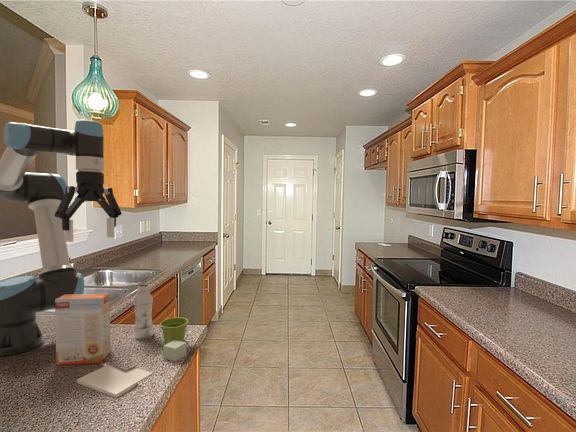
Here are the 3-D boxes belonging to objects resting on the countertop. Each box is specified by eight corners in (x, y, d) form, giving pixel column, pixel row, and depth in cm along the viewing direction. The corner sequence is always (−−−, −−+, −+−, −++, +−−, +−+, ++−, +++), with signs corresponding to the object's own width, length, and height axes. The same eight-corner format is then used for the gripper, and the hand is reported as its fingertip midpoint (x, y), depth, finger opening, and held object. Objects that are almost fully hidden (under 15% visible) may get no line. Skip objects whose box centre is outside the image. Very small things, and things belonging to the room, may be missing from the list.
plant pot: (193, 346, 118) (193, 322, 117) (168, 355, 111) (168, 329, 110) (179, 338, 124) (179, 315, 124) (155, 346, 117) (155, 322, 117)
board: (76, 383, 93) (76, 379, 93) (115, 364, 104) (115, 361, 104) (116, 398, 87) (116, 394, 87) (152, 376, 97) (152, 372, 97)
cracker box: (111, 355, 110) (110, 292, 109) (103, 364, 104) (102, 297, 103) (66, 356, 109) (65, 293, 108) (55, 365, 103) (54, 298, 102)
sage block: (163, 360, 107) (163, 345, 107) (174, 354, 112) (174, 339, 111) (175, 364, 105) (175, 348, 105) (186, 357, 109) (186, 342, 109)
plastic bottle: (157, 338, 124) (157, 285, 123) (140, 345, 118) (140, 289, 117) (146, 334, 127) (146, 282, 126) (130, 340, 122) (129, 286, 121)
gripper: (55, 167, 91) (56, 244, 92) (132, 174, 114) (133, 236, 115) (39, 168, 95) (40, 242, 96) (117, 174, 117) (118, 235, 118)
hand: (91, 239), depth 105 cm, fingers open, 13 cm apart
